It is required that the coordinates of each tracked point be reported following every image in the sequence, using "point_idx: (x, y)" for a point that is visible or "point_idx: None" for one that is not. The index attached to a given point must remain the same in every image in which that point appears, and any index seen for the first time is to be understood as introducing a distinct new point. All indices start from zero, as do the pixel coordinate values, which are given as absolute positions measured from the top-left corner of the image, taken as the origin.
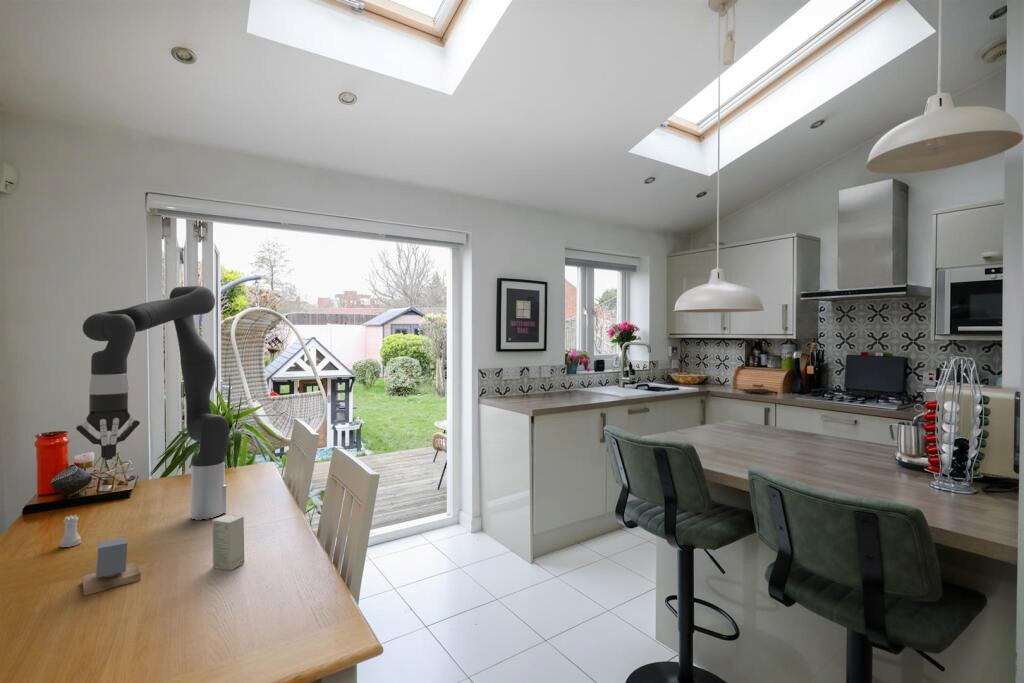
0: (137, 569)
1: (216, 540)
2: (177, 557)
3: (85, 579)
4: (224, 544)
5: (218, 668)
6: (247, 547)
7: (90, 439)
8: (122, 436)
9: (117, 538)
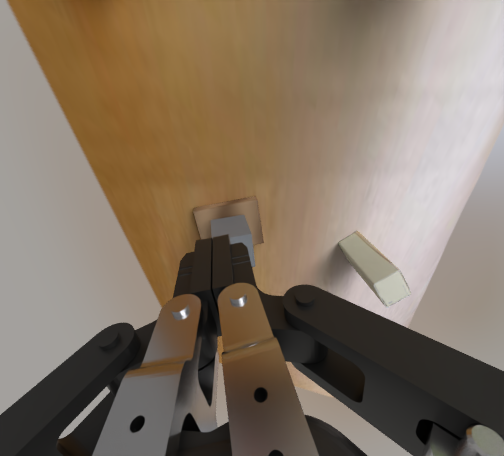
0: (259, 227)
1: (359, 270)
2: (308, 183)
3: (200, 227)
4: (363, 278)
5: (303, 384)
6: (391, 200)
7: (103, 426)
8: (315, 372)
9: (239, 236)
